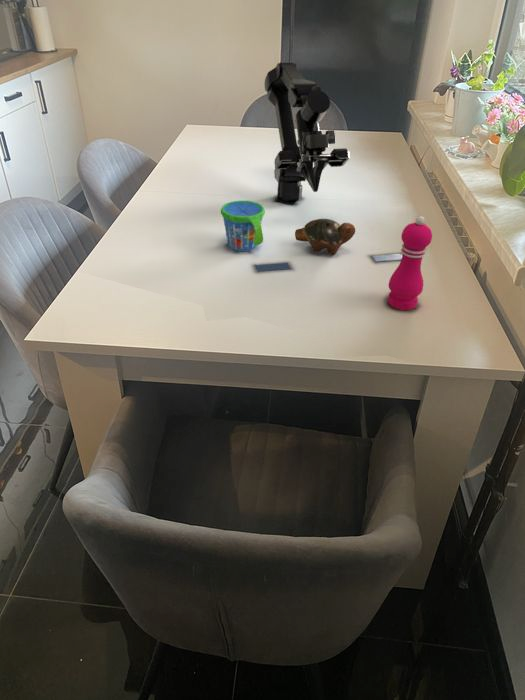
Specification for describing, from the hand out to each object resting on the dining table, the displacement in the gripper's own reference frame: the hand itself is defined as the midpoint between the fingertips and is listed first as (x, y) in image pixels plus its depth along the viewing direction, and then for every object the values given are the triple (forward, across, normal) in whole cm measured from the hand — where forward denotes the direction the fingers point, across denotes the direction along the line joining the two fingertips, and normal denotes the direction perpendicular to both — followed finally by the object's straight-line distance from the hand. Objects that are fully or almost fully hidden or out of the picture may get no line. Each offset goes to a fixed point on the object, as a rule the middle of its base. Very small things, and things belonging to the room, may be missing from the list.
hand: (315, 191), depth 139 cm
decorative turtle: (+15, 0, 0) cm, 15 cm away
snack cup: (+12, -20, +4) cm, 24 cm away
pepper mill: (+33, +9, -22) cm, 40 cm away
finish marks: (+20, 0, -6) cm, 21 cm away
